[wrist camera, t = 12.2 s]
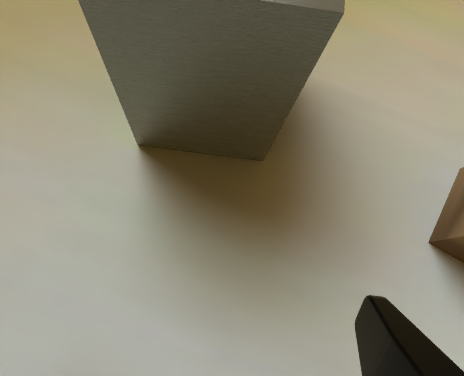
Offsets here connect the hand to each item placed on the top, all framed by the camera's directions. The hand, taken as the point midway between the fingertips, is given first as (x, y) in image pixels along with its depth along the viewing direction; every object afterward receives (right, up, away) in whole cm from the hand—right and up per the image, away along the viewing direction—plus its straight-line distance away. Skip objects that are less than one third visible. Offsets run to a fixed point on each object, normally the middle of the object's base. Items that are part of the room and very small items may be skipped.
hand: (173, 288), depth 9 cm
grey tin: (0, +7, +9) cm, 11 cm away
